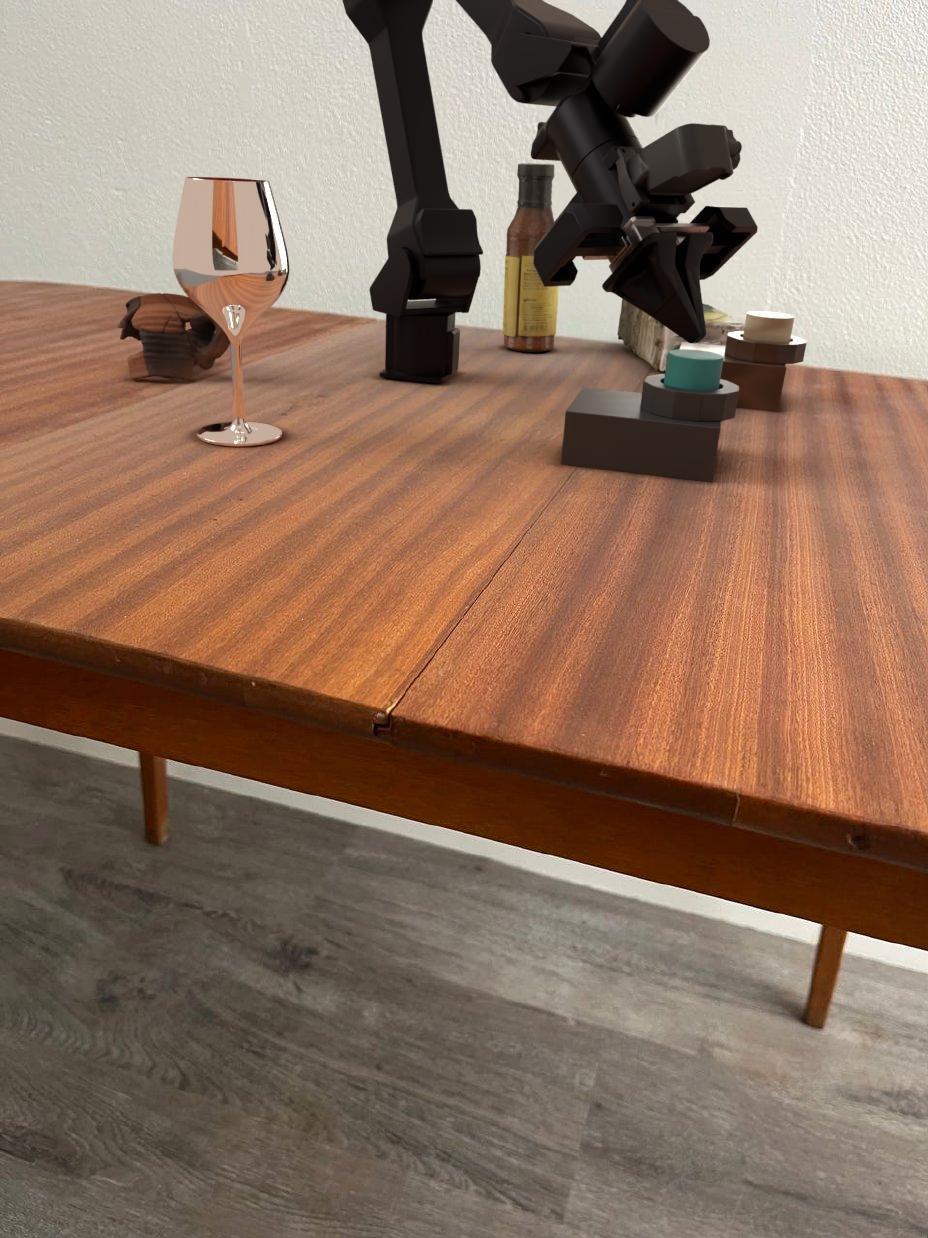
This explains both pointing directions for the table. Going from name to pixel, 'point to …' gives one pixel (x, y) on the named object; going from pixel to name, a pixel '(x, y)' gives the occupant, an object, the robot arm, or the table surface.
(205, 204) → the wineglass
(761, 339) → the bell button
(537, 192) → the sauce bottle
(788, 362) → the base
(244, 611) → the table surface
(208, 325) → the pottery mug
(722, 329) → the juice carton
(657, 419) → the dark brown block
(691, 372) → the teal button
